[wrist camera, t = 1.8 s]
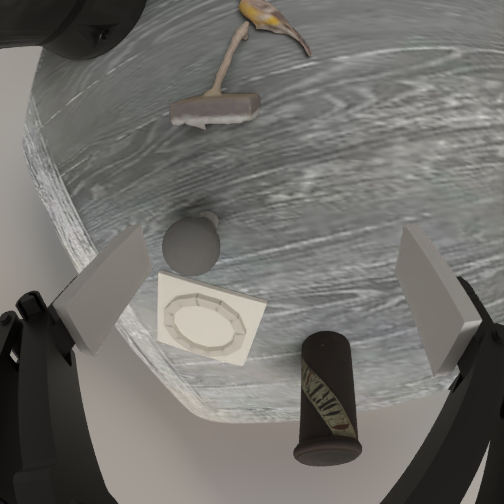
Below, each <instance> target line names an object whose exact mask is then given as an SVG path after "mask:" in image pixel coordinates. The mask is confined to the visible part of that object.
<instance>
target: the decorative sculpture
mask: <svg viewBox="0 0 504 504" xmlns="http://www.w3.org/2000/svg"><path fill="white" fill-rule="evenodd" d="M239 9H240V11H241V12H242V14H243V15H244V16H245V17H247V18H248V19H250V20H251V21H252V22H253V23H254V24H255V26H256V29H265V30H270V31H272V32H274V33H282V34H287V35H289V36H291V37H292V38H294V39H296V40H298V41H299V42H300V43H301V44H302V45H303V47H304V48H305V51H306V52H307V54H308V55H309V56H311V57H312V56H313V55H312V52H311V50H310V48H309V46H308V45H307V43H306V42H305V40H304V39H303V38H302V37H301V35H300V34H299V33H298V32H297V31H296V30H295V29H294V28H292V27H291V26H290V24H289V22H288V20H287V19H286V18H285V17H284V16H283V15H282V14H281V13H280V12H279V11H278V10H277V9H276V8H275V7H274V6H273V5H272V4H270V3H269V2H267V1H265V0H240V3H239ZM248 26H249V22H247V21H245V22H244V23H243V25H241V26H240V27H239V28H238V29H237V30H236V33H235V35H234V36H233V37H232V39H231V44H230V46H229V48H228V50H227V51H226V54H225V56H224V59H223V62H222V64H221V66H220V68H219V70H218V72H217V73H216V78H215V81H214V84H213V87H212V88H211V89H210V90H208V91H206V92H205V93H204V94H203V95H202V96H196V97H191V98H187V99H183V100H180V101H177V102H174V103H173V104H172V105H171V106H170V118H171V122H172V124H173V125H174V126H178V125H181V124H184V122H185V123H186V124H187V125H192V126H195V127H198V128H201V129H204V130H206V128H205V125H204V124H231V123H242V121H249V120H250V121H251V120H252V119H255V118H256V117H257V114H258V115H259V113H260V96H259V95H258V94H256V93H235V94H222V93H221V83H222V80H223V79H224V77H225V75H226V72H227V70H228V68H229V65H230V62H231V58H232V55H233V53H234V51H235V50H236V48H237V46H238V44H239V43H240V41H241V39H244V40H248V34H247V32H248Z"/></svg>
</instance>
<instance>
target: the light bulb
mask: <svg viewBox="0 0 504 504" xmlns="http://www.w3.org/2000/svg"><path fill="white" fill-rule="evenodd" d="M218 224H219V220H218V217H217V216H216V214H215V213H213V212H211V211H203V212H201V213H200V214H199V216H198V217H196V218H185V219H182V220H179V221H177V222H176V223H174V224H173V225H172V226H171V227H170V228H169V229H168V230H167V231H166V233H165V235H164V238H163V243H162V250H163V255H164V258H165V260H166V262H167V264H168V265H169V266H170V267H171V268H172V269H173V270H174V271H176V272H177V273H179V274H181V275H185V276H198V275H201V274H204V273H206V272H207V271H209V270H210V269H211V268H212V267H213V266H214V265H215V263H216V262H217V260H218V257H219V254H220V240H219V237H218V234H217V233H216V228H217V226H218Z"/></svg>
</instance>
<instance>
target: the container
mask: <svg viewBox="0 0 504 504" xmlns="http://www.w3.org/2000/svg"><path fill="white" fill-rule="evenodd" d="M301 365H302V368H301V414H300V434H299V444H298V445H297V446H296V448H295V449H294V453H293V454H294V457H295V459H296V460H297V461H299V462H300V463H302V464H305V465H310V466H333V465H340V464H344V463H348V462H350V461H353V460H355V459H356V458H357V457H358V456H359V455H360V454H361V452H362V446H361V444H360V443H359V441H358V431H357V418H356V404H355V392H354V380H353V370H352V358H351V349H350V344H349V342H348V340H347V339H346V338H345V337H344V336H342V335H340V334H338V333H334V332H320V333H317V334H314V335H312V336H311V337H309V338H308V339H307V340H306V341H305V342H304V344H303V346H302V364H301Z"/></svg>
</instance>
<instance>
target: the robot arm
mask: <svg viewBox="0 0 504 504" xmlns="http://www.w3.org/2000/svg"><path fill="white" fill-rule="evenodd" d="M145 3H146V0H0V49H2V48H11V47H22V46H42V47H44V48H46V49H48V50H50V51H52V52H54V53H56V54H58V55H59V56H61V57H64V58H68V59H90V58H94V57H97V56H99V55H102V54H104V53H105V52H107V51H109V50H110V49H112V48H113V47H114V46H116V45H117V44H118V43H119V42H120V41H121V40H122V39H123V38H124V37H125V36H126V35H127V34H128V33H129V32H130V30H131V29H132V28H133V26H134V25H135V23H136V22H137V20H138V19H139V17H140V15H141V13H142V11H143V8H144V6H145ZM152 269H153V267H152V264H151V260H150V257H149V253H148V250H147V246H146V243H145V239H144V235H143V231H142V227H141V225H129V226H128V227H127V228H126V229H125V230H123V231H122V232H121V233H120V234H119V235H118V236H117V237H116V238H115V239H114V240H113V241H112V242H111V243H110V244H109V245H108V246H107V247H106V248H105V249H104V250H103V251H102V252H101V253H99V254H98V255H97V256H96V257H95V258H94V259H93V261H92V262H91V263H90V264H89V265H88V266H87V267H86V268H85V269H84V270H83V271H82V272H81V273H80V274H79V275H78V276H76V277H75V278H74V279H73V280H72V281H71V282H70V284H69V285H68V286H67V287H66V288H65V289H64V290H63V291H62V292H61V293H60V294H59V296H58V297H57V298H56V299H55V300H54V301H53V302H52V303H51V304H50V306H49V307H48V308H47V306H46V304H45V303H44V301H43V299H42V297H41V295H40V293H39V292H38V291H30V292H28V293H26V294H24V295H23V296H22V297H21V298H20V299H19V300H18V301H17V303H16V307H17V309H18V311H19V313H20V314H21V316H22V318H23V319H19V318H18V316H17V314H16V312H14V311H8V312H5V313H3V314H2V315H1V317H0V504H118V503H117V501H116V500H115V499H114V498H113V497H112V495H111V494H110V493H109V492H108V490H107V488H106V486H105V483H104V480H103V477H102V474H101V472H100V469H99V465H98V462H97V459H96V456H95V452H94V449H93V445H92V442H91V438H90V435H89V430H88V426H87V422H86V417H85V413H84V408H83V403H82V398H81V392H80V387H79V380H78V374H77V367H76V359H75V353H74V351H73V350H72V347H73V346H74V344H76V346H77V347H78V349H79V350H80V352H81V353H83V354H86V355H90V356H95V354H96V352H97V351H98V349H99V348H100V346H101V344H102V343H103V341H104V340H105V338H106V337H107V335H108V333H109V332H110V330H111V329H112V327H113V326H114V324H115V323H116V321H117V320H118V318H119V317H120V315H121V314H122V312H123V311H124V309H125V308H126V306H127V305H128V303H129V302H130V301H131V299H132V298H133V296H134V295H135V293H136V292H137V290H138V289H139V288H140V286H141V285H142V283H143V282H144V281H145V279H146V278H147V276H148V275H149V274H150V272H151V271H152ZM395 275H396V277H397V279H398V281H399V284H400V286H401V288H402V291H403V293H404V295H405V298H406V300H407V303H408V305H409V308H410V310H411V313H412V315H413V318H414V320H415V323H416V326H417V328H418V331H419V334H420V337H421V339H422V342H423V345H424V348H425V351H426V354H427V357H428V360H429V363H430V366H431V370H432V373H433V376H434V377H439V376H445V375H450V374H451V373H452V371H453V370H454V368H455V367H456V365H458V367H459V370H460V373H459V375H458V376H457V377H456V379H455V380H454V382H453V383H452V384H451V386H450V387H449V389H448V390H451V391H450V393H449V395H448V398H447V400H446V402H445V404H444V406H443V408H442V410H441V412H440V414H439V416H438V418H437V420H436V421H435V423H434V425H433V427H432V429H431V430H430V432H429V434H428V436H427V437H426V439H425V441H424V443H423V444H422V446H421V447H420V449H419V451H418V452H417V454H416V455H415V457H414V459H413V460H412V461H411V463H410V465H409V466H408V467H407V469H406V470H405V472H404V473H403V474H402V476H401V477H400V479H399V480H398V482H397V483H396V484H395V485H394V487H393V488H392V489H391V490H390V492H389V493H388V494H387V496H386V497H385V498H384V499H383V501H382V502H381V503H380V504H460V503H461V501H462V499H463V497H464V496H465V494H466V492H467V490H468V488H469V486H470V484H471V482H472V480H473V478H474V476H475V474H476V472H477V470H478V468H479V466H480V463H481V461H482V458H483V456H484V454H485V452H486V449H487V447H488V444H489V441H490V445H489V451H488V456H487V461H486V466H485V470H484V474H483V478H482V482H481V485H480V489H479V493H478V496H477V499H476V502H475V504H504V326H503V325H501V324H498V323H493V321H492V319H491V317H490V316H489V314H488V312H487V311H486V309H485V307H484V306H483V304H482V302H481V301H479V298H478V296H477V295H476V294H475V291H474V290H473V288H472V287H471V285H470V284H469V283H468V282H467V281H465V280H464V279H463V278H462V277H456V276H455V275H454V273H453V272H452V270H451V269H450V267H449V266H448V264H447V263H446V262H445V260H444V259H443V257H442V256H441V254H440V253H439V252H438V250H437V249H436V248H435V246H434V245H433V244H432V242H431V241H430V240H429V238H428V237H427V236H426V234H425V233H424V232H423V231H422V229H421V228H420V227H419V226H418V224H404V227H403V233H402V238H401V244H400V249H399V254H398V259H397V263H396V268H395ZM11 350H12V352H13V353H14V354H15V356H16V357H17V358H18V360H17V362H14V360H13V359H12V358H11V356H10V353H11Z"/></svg>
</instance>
